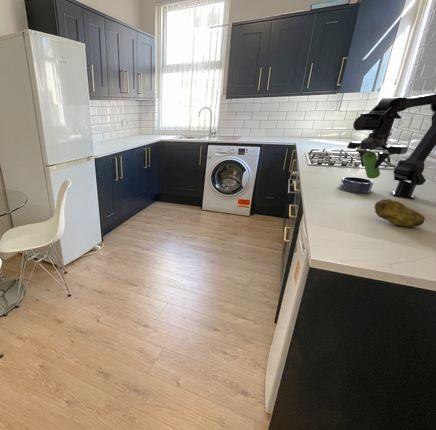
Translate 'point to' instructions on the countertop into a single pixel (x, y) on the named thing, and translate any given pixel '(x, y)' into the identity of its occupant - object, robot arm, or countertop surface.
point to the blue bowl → (356, 185)
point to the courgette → (370, 164)
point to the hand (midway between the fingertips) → (369, 167)
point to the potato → (398, 213)
